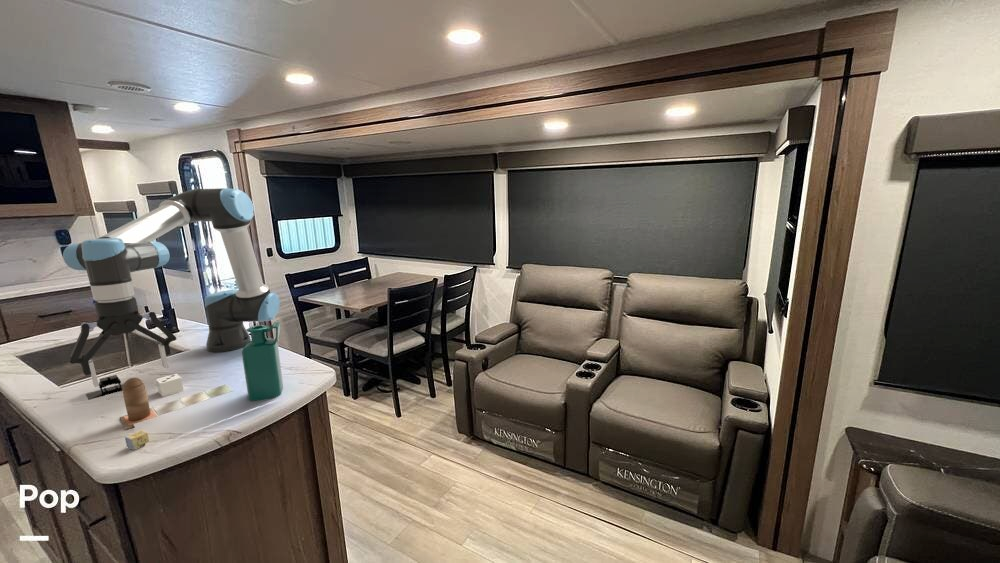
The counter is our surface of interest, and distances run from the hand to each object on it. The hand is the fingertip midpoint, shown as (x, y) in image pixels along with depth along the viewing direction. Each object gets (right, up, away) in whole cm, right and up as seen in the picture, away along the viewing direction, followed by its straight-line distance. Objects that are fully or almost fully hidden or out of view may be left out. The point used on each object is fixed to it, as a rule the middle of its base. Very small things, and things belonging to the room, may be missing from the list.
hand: (132, 375), depth 101 cm
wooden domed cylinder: (0, -12, +2) cm, 12 cm away
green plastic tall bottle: (+28, -10, +15) cm, 33 cm away
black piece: (-25, -10, +19) cm, 33 cm away
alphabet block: (+11, -15, -10) cm, 21 cm away
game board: (+6, -11, +9) cm, 15 cm away
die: (-4, -10, +16) cm, 19 cm away
